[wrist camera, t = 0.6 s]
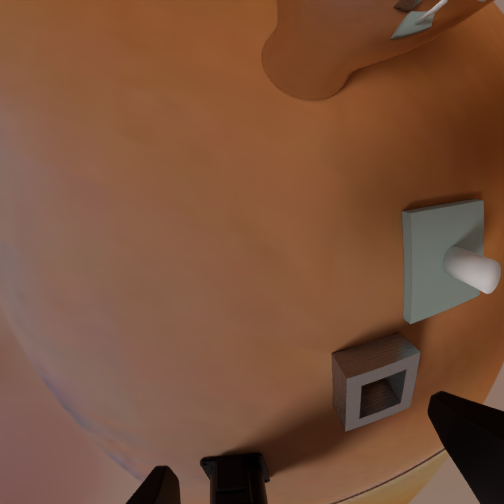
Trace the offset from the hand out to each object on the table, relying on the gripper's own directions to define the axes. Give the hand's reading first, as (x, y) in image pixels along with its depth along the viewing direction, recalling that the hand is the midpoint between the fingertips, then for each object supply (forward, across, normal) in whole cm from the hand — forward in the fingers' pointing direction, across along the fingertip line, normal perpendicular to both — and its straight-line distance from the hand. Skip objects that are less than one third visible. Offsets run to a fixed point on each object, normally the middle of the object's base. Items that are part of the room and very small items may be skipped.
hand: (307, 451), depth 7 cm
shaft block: (+13, -16, +1) cm, 21 cm away
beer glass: (+13, -6, -16) cm, 21 cm away
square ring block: (+13, -8, +9) cm, 18 cm away
